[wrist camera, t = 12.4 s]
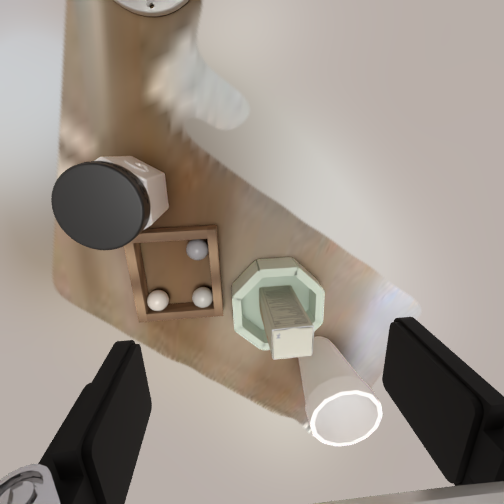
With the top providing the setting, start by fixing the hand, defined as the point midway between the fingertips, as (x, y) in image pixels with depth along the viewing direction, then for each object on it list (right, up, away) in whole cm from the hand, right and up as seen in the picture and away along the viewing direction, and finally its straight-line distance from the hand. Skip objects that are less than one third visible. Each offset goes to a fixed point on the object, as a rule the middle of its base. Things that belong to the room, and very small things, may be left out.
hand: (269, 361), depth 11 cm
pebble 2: (-8, +5, +30) cm, 31 cm away
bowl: (+3, -3, +34) cm, 34 cm away
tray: (-11, +1, +31) cm, 33 cm away
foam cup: (+10, -13, +38) cm, 41 cm away
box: (+3, -3, +33) cm, 33 cm away
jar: (-16, +12, +27) cm, 33 cm away
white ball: (-8, -2, +32) cm, 33 cm away
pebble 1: (-14, -4, +31) cm, 34 cm away
